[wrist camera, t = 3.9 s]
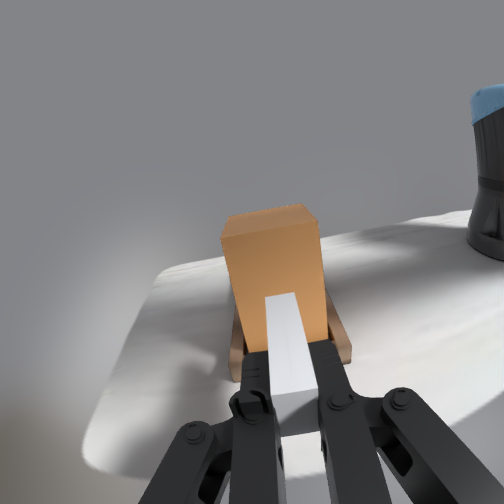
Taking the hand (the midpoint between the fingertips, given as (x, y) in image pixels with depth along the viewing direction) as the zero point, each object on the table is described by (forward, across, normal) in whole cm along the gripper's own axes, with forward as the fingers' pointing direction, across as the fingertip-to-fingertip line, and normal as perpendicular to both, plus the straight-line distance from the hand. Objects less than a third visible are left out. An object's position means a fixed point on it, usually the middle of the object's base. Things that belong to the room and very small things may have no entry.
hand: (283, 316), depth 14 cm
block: (+7, 0, -6) cm, 9 cm away
